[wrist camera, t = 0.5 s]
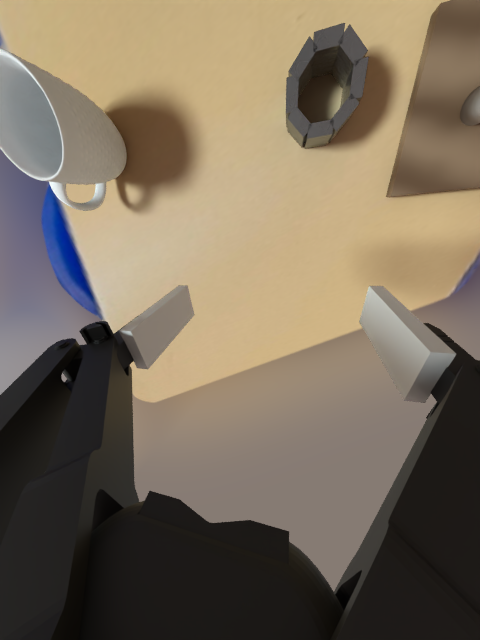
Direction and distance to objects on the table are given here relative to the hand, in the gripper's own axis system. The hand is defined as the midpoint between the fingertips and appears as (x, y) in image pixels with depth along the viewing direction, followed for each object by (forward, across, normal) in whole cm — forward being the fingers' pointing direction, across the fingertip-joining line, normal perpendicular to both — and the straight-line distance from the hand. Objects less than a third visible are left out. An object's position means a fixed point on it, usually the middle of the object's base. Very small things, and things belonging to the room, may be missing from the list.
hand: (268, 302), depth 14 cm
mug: (+24, -30, +16) cm, 42 cm away
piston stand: (+24, +21, +14) cm, 35 cm away
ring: (+24, +4, +17) cm, 30 cm away
